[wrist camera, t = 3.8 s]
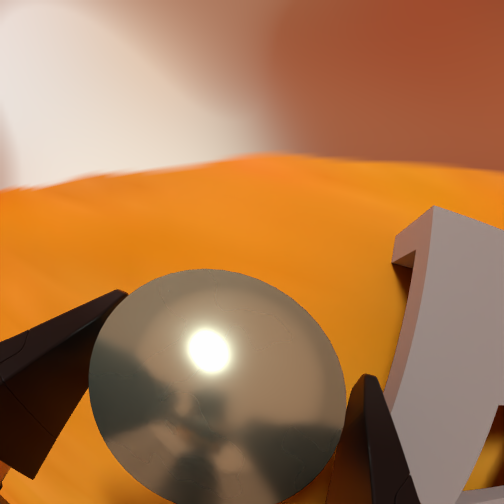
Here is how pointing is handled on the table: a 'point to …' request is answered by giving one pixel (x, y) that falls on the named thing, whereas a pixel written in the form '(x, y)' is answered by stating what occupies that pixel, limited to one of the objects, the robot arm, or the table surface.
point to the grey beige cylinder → (217, 389)
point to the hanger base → (448, 353)
